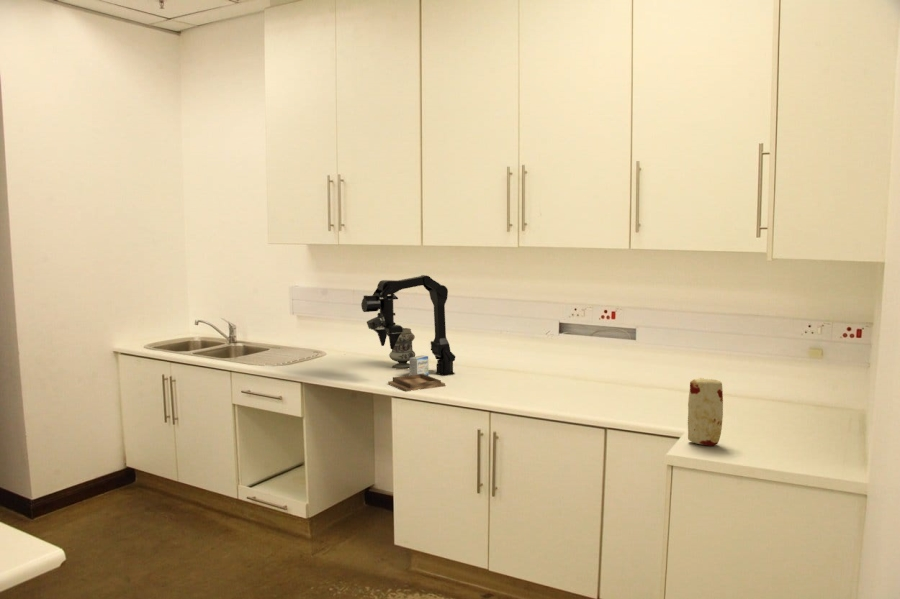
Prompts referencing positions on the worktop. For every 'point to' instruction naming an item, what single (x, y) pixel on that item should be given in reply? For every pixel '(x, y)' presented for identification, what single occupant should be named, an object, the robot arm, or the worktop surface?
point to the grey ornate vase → (403, 349)
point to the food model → (705, 411)
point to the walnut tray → (415, 382)
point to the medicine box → (419, 365)
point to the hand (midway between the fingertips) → (387, 347)
